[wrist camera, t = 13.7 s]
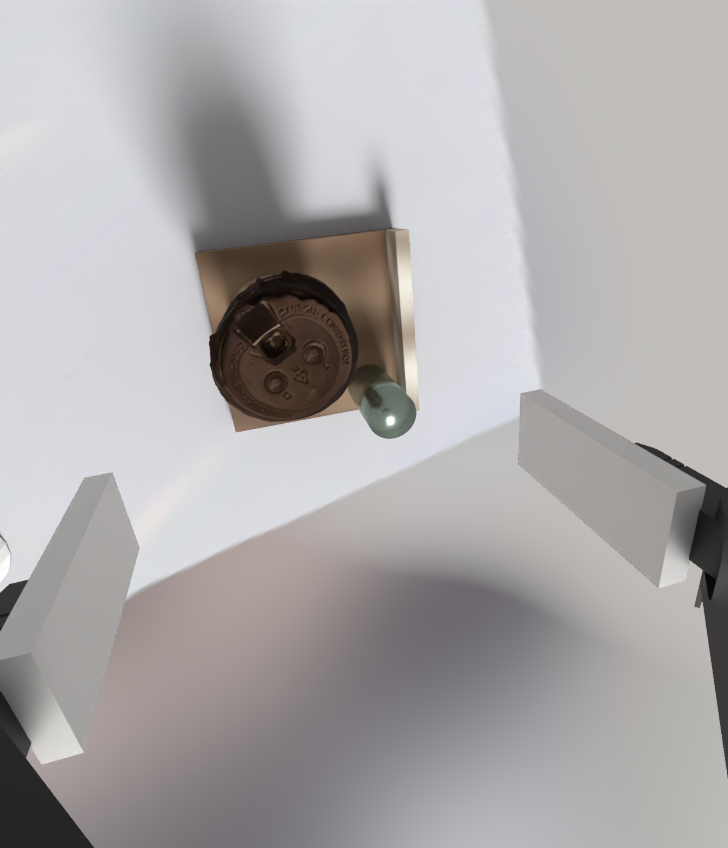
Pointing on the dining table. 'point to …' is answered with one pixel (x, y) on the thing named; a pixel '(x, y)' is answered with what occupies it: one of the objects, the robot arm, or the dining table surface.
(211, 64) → the dining table surface
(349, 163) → the dining table surface
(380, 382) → the green cylinder
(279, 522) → the dining table surface
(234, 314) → the coffee cup
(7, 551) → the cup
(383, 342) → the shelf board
